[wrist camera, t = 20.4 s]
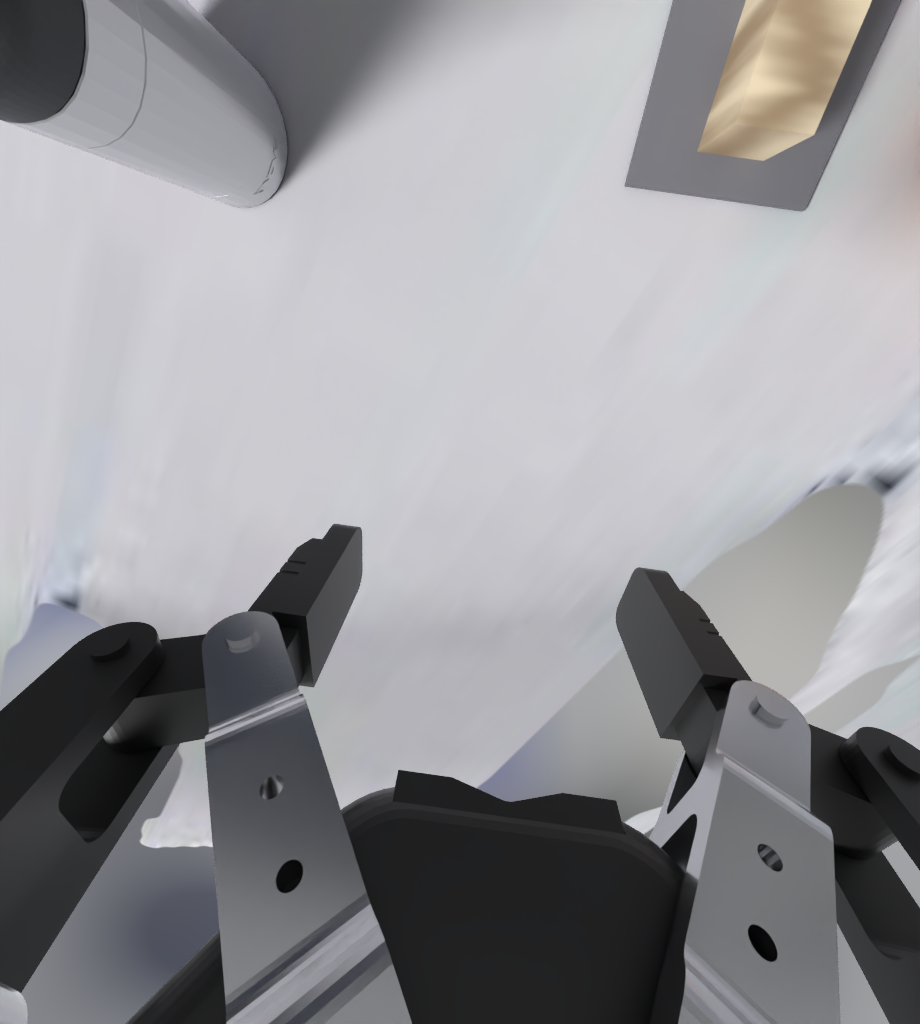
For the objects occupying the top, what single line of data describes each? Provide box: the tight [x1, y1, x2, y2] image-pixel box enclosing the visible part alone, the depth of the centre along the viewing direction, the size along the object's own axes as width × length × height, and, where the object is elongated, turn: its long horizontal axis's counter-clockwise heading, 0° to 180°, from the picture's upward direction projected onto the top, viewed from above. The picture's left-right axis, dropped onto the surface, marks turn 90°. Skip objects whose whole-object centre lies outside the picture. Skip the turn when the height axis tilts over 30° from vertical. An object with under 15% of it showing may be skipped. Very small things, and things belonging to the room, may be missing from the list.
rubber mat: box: [625, 0, 901, 211], centre depth 24 cm, size 20×14×1 cm
